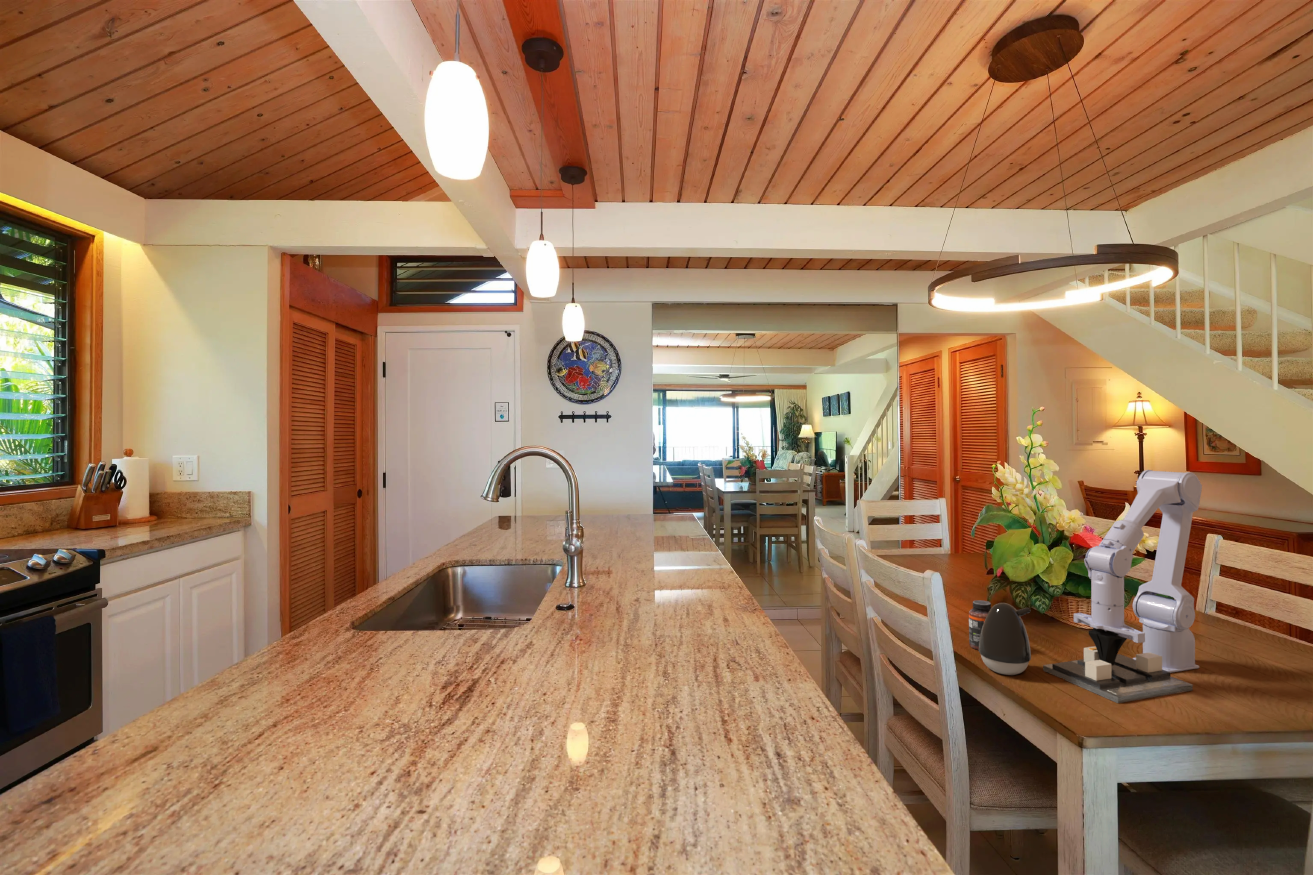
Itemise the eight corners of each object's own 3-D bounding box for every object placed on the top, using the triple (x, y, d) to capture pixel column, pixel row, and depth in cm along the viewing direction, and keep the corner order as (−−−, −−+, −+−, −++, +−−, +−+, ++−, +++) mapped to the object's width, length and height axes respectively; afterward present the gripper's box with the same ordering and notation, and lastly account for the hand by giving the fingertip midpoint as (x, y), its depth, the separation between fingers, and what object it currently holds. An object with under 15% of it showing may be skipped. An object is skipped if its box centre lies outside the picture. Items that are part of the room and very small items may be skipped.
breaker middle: (1097, 659, 138) (1097, 645, 138) (1108, 663, 136) (1108, 648, 136) (1083, 661, 137) (1083, 646, 137) (1094, 665, 135) (1094, 650, 135)
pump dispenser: (1039, 681, 132) (1039, 611, 132) (987, 678, 134) (986, 608, 134) (1021, 663, 142) (1021, 597, 142) (973, 660, 144) (972, 596, 144)
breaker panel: (1112, 660, 143) (1112, 650, 143) (1192, 690, 127) (1192, 679, 127) (1043, 670, 138) (1043, 660, 138) (1117, 703, 122) (1117, 692, 121)
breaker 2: (1150, 665, 134) (1150, 652, 134) (1162, 670, 131) (1162, 656, 131) (1136, 668, 133) (1136, 654, 133) (1147, 672, 130) (1147, 658, 130)
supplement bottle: (996, 645, 154) (995, 600, 153) (996, 653, 148) (996, 606, 148) (969, 641, 156) (969, 597, 156) (968, 649, 151) (968, 603, 151)
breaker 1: (1099, 673, 130) (1099, 659, 130) (1111, 678, 128) (1111, 663, 128) (1085, 675, 129) (1085, 661, 129) (1096, 680, 127) (1096, 666, 127)
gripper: (1062, 595, 140) (1063, 654, 140) (1126, 614, 125) (1126, 680, 126) (1087, 592, 141) (1087, 651, 142) (1152, 610, 127) (1152, 675, 128)
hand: (1107, 664), depth 134 cm, fingers closed
